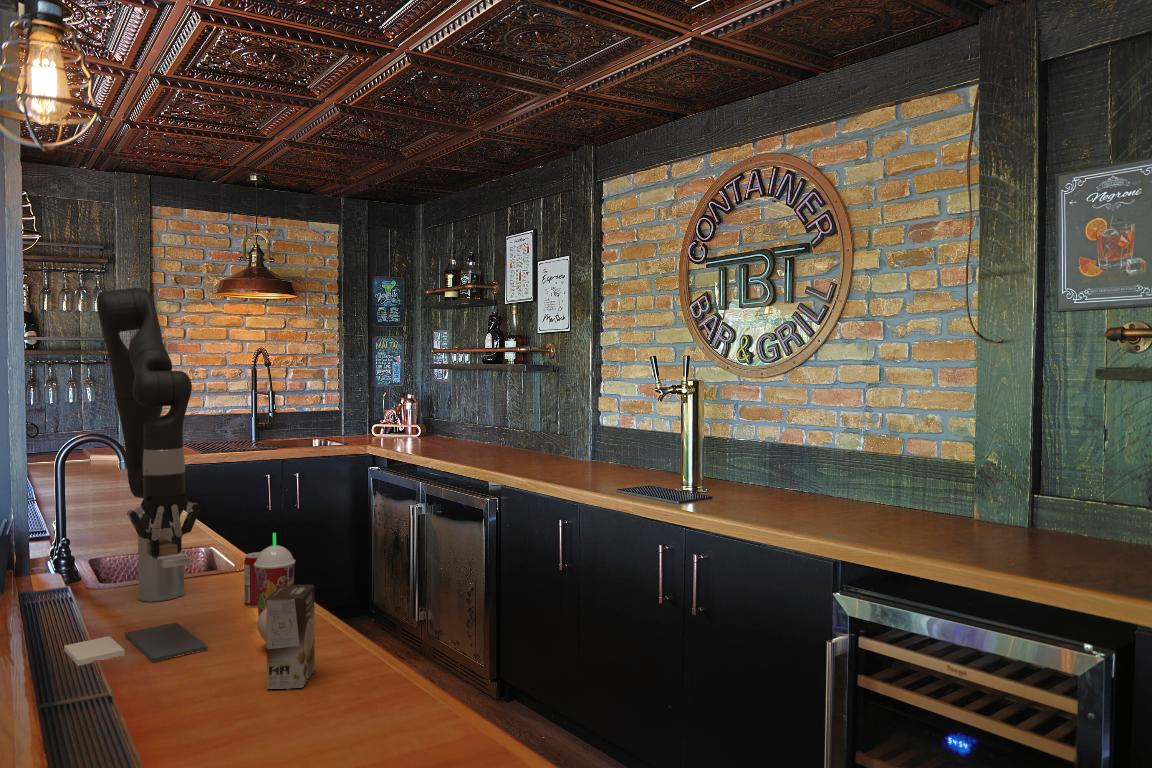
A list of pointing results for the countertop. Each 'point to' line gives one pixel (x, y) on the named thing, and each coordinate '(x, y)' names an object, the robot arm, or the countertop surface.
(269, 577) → the smoothie
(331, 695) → the countertop surface
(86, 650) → the tile
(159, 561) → the tan two-tone long part
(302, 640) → the coffee box
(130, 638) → the mat
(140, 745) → the countertop surface
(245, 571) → the soda can
